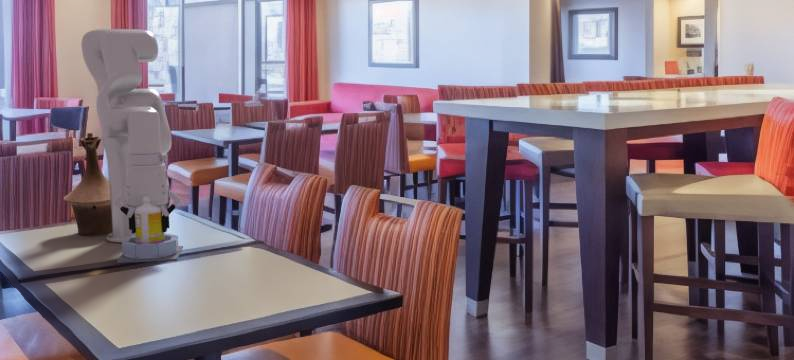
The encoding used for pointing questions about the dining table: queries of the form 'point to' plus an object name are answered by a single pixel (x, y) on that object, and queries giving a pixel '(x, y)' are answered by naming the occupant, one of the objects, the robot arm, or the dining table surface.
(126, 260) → the mat
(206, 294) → the dining table surface
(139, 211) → the supplement bottle
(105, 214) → the brown tall tapered piece
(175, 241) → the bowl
